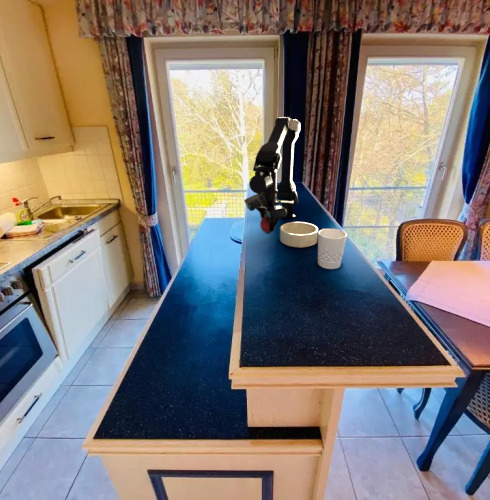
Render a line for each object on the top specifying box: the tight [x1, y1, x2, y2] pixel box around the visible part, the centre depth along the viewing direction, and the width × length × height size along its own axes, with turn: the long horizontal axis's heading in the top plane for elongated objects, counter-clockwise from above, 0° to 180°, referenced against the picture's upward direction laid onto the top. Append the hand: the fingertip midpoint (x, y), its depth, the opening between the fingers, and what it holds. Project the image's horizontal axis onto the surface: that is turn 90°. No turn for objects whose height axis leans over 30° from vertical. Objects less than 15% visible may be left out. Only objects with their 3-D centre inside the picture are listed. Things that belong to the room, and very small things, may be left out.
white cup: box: [317, 228, 348, 270], centre depth 82 cm, size 8×8×10 cm
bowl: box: [279, 221, 319, 248], centre depth 100 cm, size 13×13×5 cm
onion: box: [259, 216, 277, 235], centre depth 104 cm, size 6×6×8 cm
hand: (267, 228), depth 105 cm, fingers closed on onion, 6 cm apart
